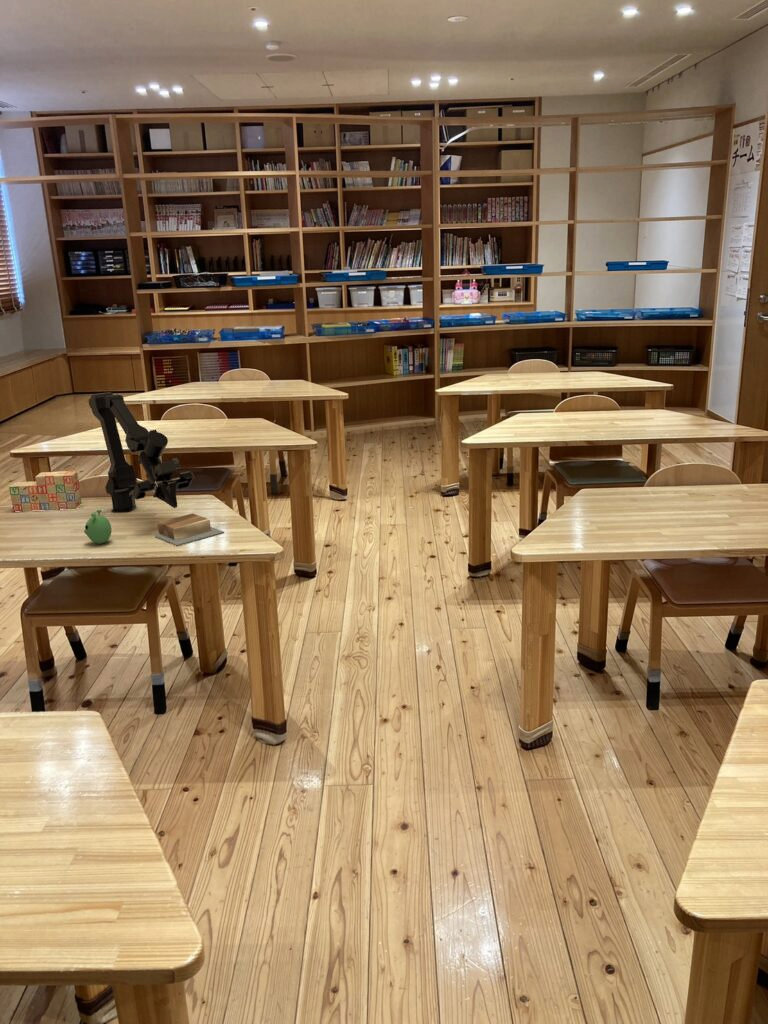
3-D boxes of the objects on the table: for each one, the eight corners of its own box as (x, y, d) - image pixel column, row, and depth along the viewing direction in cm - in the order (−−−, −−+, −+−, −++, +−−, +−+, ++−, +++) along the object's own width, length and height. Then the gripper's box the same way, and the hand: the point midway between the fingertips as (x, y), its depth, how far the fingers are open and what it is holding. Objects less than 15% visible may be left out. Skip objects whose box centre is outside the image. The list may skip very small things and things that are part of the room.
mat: (154, 537, 242) (154, 535, 242) (201, 524, 253) (201, 523, 253) (177, 546, 233) (176, 544, 233) (224, 533, 244) (224, 531, 244)
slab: (157, 522, 243) (174, 528, 236) (192, 513, 251) (209, 519, 244) (158, 533, 244) (175, 540, 237) (193, 524, 252) (211, 530, 245)
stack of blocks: (13, 513, 274) (6, 477, 270) (19, 508, 280) (13, 473, 276) (77, 509, 275) (72, 474, 272) (82, 504, 281) (77, 470, 278)
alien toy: (91, 539, 242) (86, 507, 240) (116, 539, 242) (112, 507, 239) (82, 547, 236) (77, 514, 233) (108, 546, 235) (103, 513, 232)
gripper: (132, 456, 238) (155, 498, 234) (188, 445, 251) (210, 485, 246) (123, 478, 246) (145, 519, 242) (177, 466, 258) (199, 506, 254)
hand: (175, 507), depth 245 cm, fingers closed
